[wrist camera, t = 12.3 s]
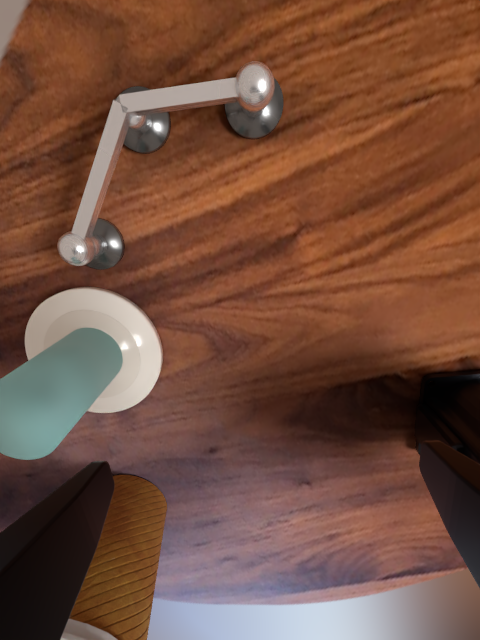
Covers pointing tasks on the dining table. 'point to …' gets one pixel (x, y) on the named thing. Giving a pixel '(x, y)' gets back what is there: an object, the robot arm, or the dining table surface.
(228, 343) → the dining table surface
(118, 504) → the disposable coffee cup
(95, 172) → the railing
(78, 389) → the peg
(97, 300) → the saucer
